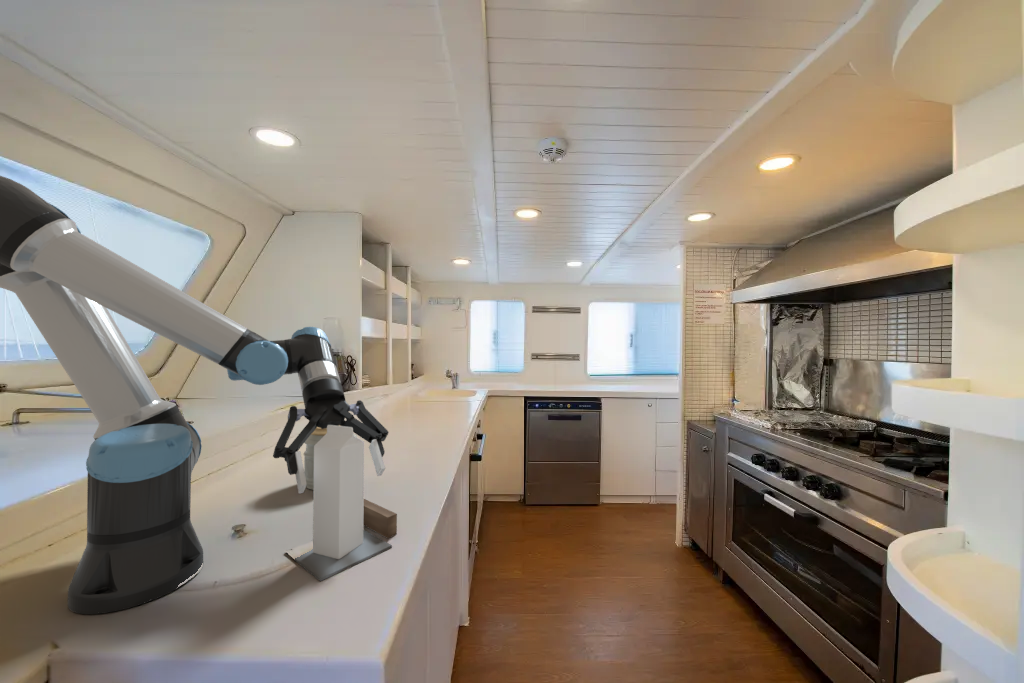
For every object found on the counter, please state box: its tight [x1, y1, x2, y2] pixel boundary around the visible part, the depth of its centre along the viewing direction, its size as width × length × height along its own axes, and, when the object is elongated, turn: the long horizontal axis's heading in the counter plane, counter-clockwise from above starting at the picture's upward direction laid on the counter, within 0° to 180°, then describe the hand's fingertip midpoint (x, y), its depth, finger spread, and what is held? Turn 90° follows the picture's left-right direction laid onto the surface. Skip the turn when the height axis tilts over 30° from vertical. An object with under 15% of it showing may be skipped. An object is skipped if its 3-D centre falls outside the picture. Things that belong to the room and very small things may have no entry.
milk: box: [312, 425, 365, 559], centre depth 70 cm, size 6×6×22 cm
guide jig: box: [294, 498, 398, 582], centre depth 75 cm, size 16×26×4 cm, turn 52°
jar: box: [303, 425, 358, 491], centre depth 104 cm, size 13×13×18 cm
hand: (344, 480), depth 70 cm, fingers open, 13 cm apart
